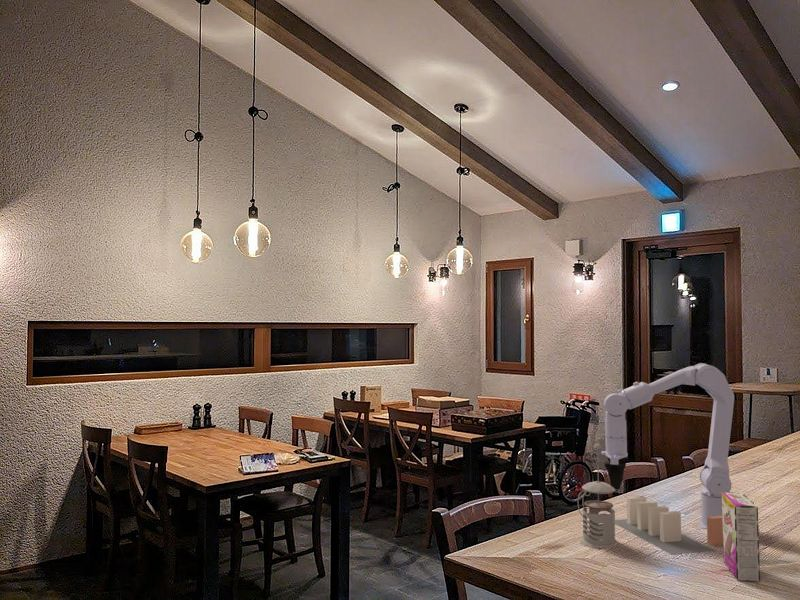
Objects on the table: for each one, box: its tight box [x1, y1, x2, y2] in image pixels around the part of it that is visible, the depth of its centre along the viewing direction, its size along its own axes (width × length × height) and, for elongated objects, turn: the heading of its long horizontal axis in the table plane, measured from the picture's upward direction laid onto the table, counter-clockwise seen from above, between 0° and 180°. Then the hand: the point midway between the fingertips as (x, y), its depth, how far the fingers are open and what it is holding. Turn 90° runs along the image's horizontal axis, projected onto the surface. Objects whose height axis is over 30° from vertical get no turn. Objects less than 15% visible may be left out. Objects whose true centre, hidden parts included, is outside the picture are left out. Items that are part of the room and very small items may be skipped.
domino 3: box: [648, 505, 670, 536], centre depth 175 cm, size 2×5×7 cm, turn 103°
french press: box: [577, 443, 619, 550], centre depth 171 cm, size 10×12×25 cm
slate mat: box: [614, 518, 716, 556], centre depth 175 cm, size 28×12×1 cm, turn 13°
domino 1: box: [626, 495, 647, 525], centre depth 185 cm, size 2×5×7 cm, turn 103°
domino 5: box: [706, 516, 723, 546], centre depth 168 cm, size 2×5×7 cm, turn 103°
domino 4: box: [660, 510, 682, 542], centre depth 170 cm, size 2×5×7 cm, turn 103°
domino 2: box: [637, 500, 658, 530], centre depth 180 cm, size 2×5×7 cm, turn 103°
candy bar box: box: [722, 492, 761, 583], centre depth 150 cm, size 11×5×16 cm, turn 168°
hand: (616, 485), depth 188 cm, fingers open, 7 cm apart
